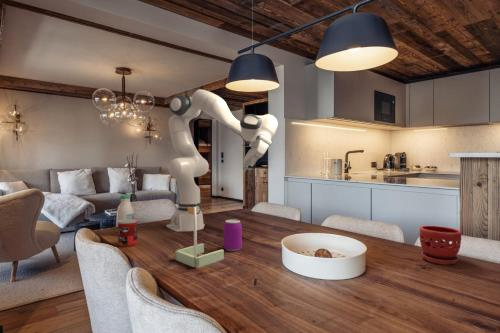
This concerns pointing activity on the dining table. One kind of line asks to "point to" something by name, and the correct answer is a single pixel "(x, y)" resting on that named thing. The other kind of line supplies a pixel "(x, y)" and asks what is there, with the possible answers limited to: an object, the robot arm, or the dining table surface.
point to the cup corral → (197, 250)
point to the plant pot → (440, 244)
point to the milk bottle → (125, 208)
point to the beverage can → (232, 235)
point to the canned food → (127, 232)
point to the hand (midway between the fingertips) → (247, 168)
